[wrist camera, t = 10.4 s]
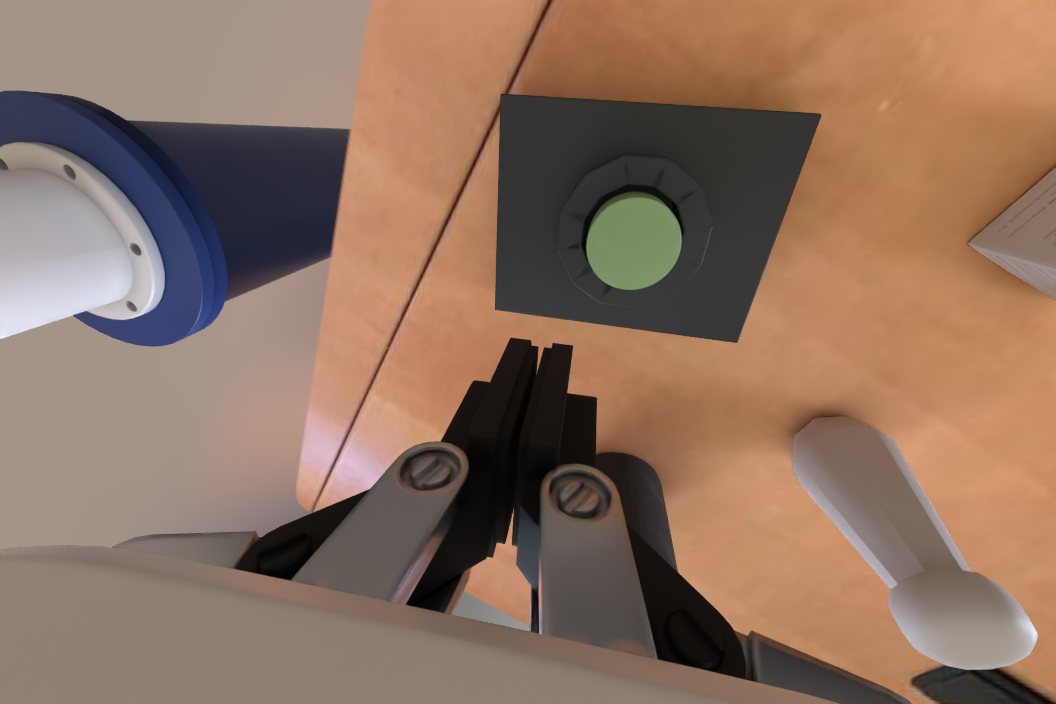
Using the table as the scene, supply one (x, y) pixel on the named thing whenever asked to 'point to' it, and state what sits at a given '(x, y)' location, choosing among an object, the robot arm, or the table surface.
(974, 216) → the table surface
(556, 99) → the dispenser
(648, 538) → the travel mug
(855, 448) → the salt shaker
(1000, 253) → the product box
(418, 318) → the table surface
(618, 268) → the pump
